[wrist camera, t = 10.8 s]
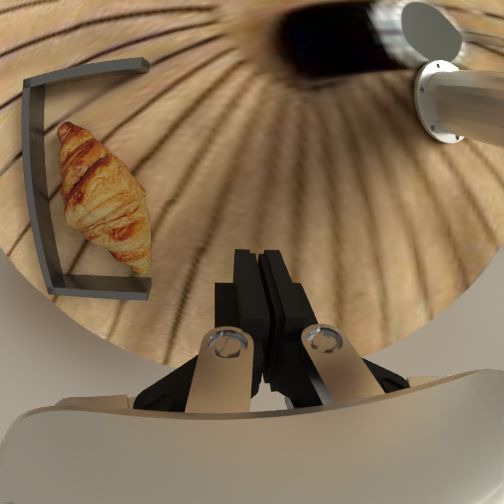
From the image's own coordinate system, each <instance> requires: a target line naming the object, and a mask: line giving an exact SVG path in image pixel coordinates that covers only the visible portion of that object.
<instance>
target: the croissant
mask: <svg viewBox="0 0 504 504" xmlns="http://www.w3.org/2000/svg"><path fill="white" fill-rule="evenodd" d="M57 135H58V137H59V139H60V142H61V147H60V150H59V153H58V156H59V161H58V163H59V165H60V170H61V172H60V174H61V177H62V184H61V188H59V189H60V194H61V195H62V198H63V201H64V204H65V210H64V218H65V222H66V223H67V224H68V226H69V227H70V228H73V229H75V230H81V232H82V234H83V235H84V236H85V237H86V239H88V240H89V241H91V242H92V243H93V244H95V245H98V246H102V247H104V248H105V249H107V250H108V251H109V252H110V253H111V254H112V255H113V257H114V258H115V259H116V260H117V261H120V262H122V263H124V264H127V265H130V267H131V268H132V269H133V271H135V272H137V273H139V274H145V273H146V272H147V271H148V270H149V268H150V263H151V235H150V233H151V227H150V219H149V216H148V212H147V208H146V205H145V201H144V197H145V195H146V193H145V190H144V189H143V188H142V187H141V186H140V185H139V183H138V181H137V180H136V179H135V178H134V177H133V176H132V175H131V174H130V171H129V170H128V168H127V167H126V166H125V165H124V164H123V163H122V162H121V161H120V160H119V159H118V158H117V157H116V156H114V155H113V154H112V153H111V152H110V151H109V150H108V149H107V148H106V147H105V146H104V145H103V144H101V143H100V142H99V141H97V140H96V139H94V138H93V136H92V134H91V133H90V132H89V131H87V130H86V129H83V128H81V127H78V126H76V125H74V124H72V123H71V122H64V123H63V124H62V125H61V126H60V127H59V128H58V131H57Z"/></svg>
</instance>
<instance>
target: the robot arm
mask: <svg viewBox="0 0 504 504" xmlns="http://www.w3.org/2000/svg"><path fill="white" fill-rule="evenodd" d="M414 102H415V108H416V111H417V115H418V117H419V119H420V122H421V124H422V125H423V127H424V128H425V130H426V131H427V132H428V133H429V135H431V136H432V137H433V138H434V139H436V140H438V141H440V142H443V143H448V144H453V143H457V142H459V141H461V140H462V139H463V138H464V137H466V138H469V139H473V140H477V141H480V142H483V143H487V144H490V145H493V146H497V147H500V148H503V149H504V72H496V71H475V70H458V69H457V68H456V67H455V66H454V65H452V64H451V63H449V62H446V61H441V60H436V61H431V62H428V63H426V64H425V65H423V67H422V68H421V69H420V70H419V72H418V74H417V76H416V80H415V84H414ZM262 372H263V378H264V382H265V383H270V388H271V391H272V392H274V391H278V392H280V393H281V394H283V395H284V396H285V403H286V406H287V409H288V410H277V411H263V412H250V400H251V398H252V397H253V396H255V395H256V394H257V393H258V390H259V384H260V383H261V378H262ZM0 504H504V371H501V370H493V369H492V370H491V369H483V370H474V371H469V372H464V373H461V374H457V375H453V376H432V377H408V378H407V379H406V380H405V379H404V378H403V377H401V376H399V375H398V374H395V373H393V372H391V371H389V370H387V369H385V368H383V367H380V366H378V365H376V364H374V363H372V362H370V361H368V360H366V359H364V358H362V357H360V356H359V354H358V353H357V351H356V350H355V348H354V347H353V346H352V344H351V343H350V341H349V340H348V338H347V337H346V336H345V335H344V333H343V332H342V331H340V330H339V329H337V328H336V327H333V326H330V325H326V324H318V322H317V319H316V317H315V315H314V312H313V310H312V308H311V305H310V303H309V301H308V298H307V296H306V294H305V291H304V289H303V287H302V285H301V283H292V281H291V278H290V276H289V273H288V271H287V268H286V266H285V263H284V260H283V258H282V255H281V253H280V251H279V250H264V254H259V256H258V263H257V259H256V255H255V253H250V250H244V249H235V254H234V273H233V283H215V329H213V330H211V331H209V332H208V333H207V334H206V335H205V336H204V338H203V340H202V343H201V347H200V351H199V354H198V355H197V356H195V357H194V358H192V359H191V360H189V361H188V362H186V363H185V364H183V365H182V366H180V367H179V368H177V369H176V370H174V371H173V372H171V373H170V374H169V375H167V376H165V377H164V378H162V379H161V380H159V381H158V382H156V383H155V384H153V385H151V386H150V387H148V388H147V389H145V390H143V391H142V392H141V393H140V394H139V395H138V396H137V397H132V398H128V397H127V395H115V396H98V397H70V398H65V399H62V400H61V401H59V402H57V403H56V405H55V406H48V407H41V408H37V409H34V410H31V411H28V412H25V413H24V414H22V415H20V416H19V417H18V418H17V419H16V420H15V421H14V422H13V423H12V425H11V426H10V427H9V429H8V431H7V432H6V434H5V437H4V439H3V441H2V443H1V445H0Z"/></svg>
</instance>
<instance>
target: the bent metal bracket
mask: <svg viewBox="0 0 504 504" xmlns="http://www.w3.org/2000/svg"><path fill="white" fill-rule="evenodd" d="M149 64H150V63H149V62H148V61H147V60H145V59H144V58H143V57H139V58H129V59H120V60H112V61H105V62H98V63H92V64H86V65H81V66H76V67H71V68H66V69H62V70H58V71H53V72H50V73H46V74H42V75H38V76H35V77H31V78H28V79H25V80H24V81H23V95H22V152H23V167H24V178H25V187H26V195H27V202H28V209H29V215H30V221H31V226H32V231H33V236H34V241H35V245H36V250H37V254H38V258H39V262H40V266H41V270H42V273H43V277H44V280H45V284H46V287H47V291H48V294H54V295H65V296H78V297H91V298H106V299H124V300H145V301H147V300H148V297H149V293H150V290H151V286H152V283H151V278H137V277H111V276H89V275H69V274H62V270H61V266H60V261H59V257H58V252H57V248H56V243H55V237H54V232H53V226H52V220H51V214H50V207H49V200H48V191H47V182H46V170H45V155H44V95H45V88H46V87H50V86H55V85H59V84H64V83H69V82H74V81H80V80H86V79H92V78H98V77H106V76H114V75H123V74H133V73H146V72H149Z"/></svg>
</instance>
